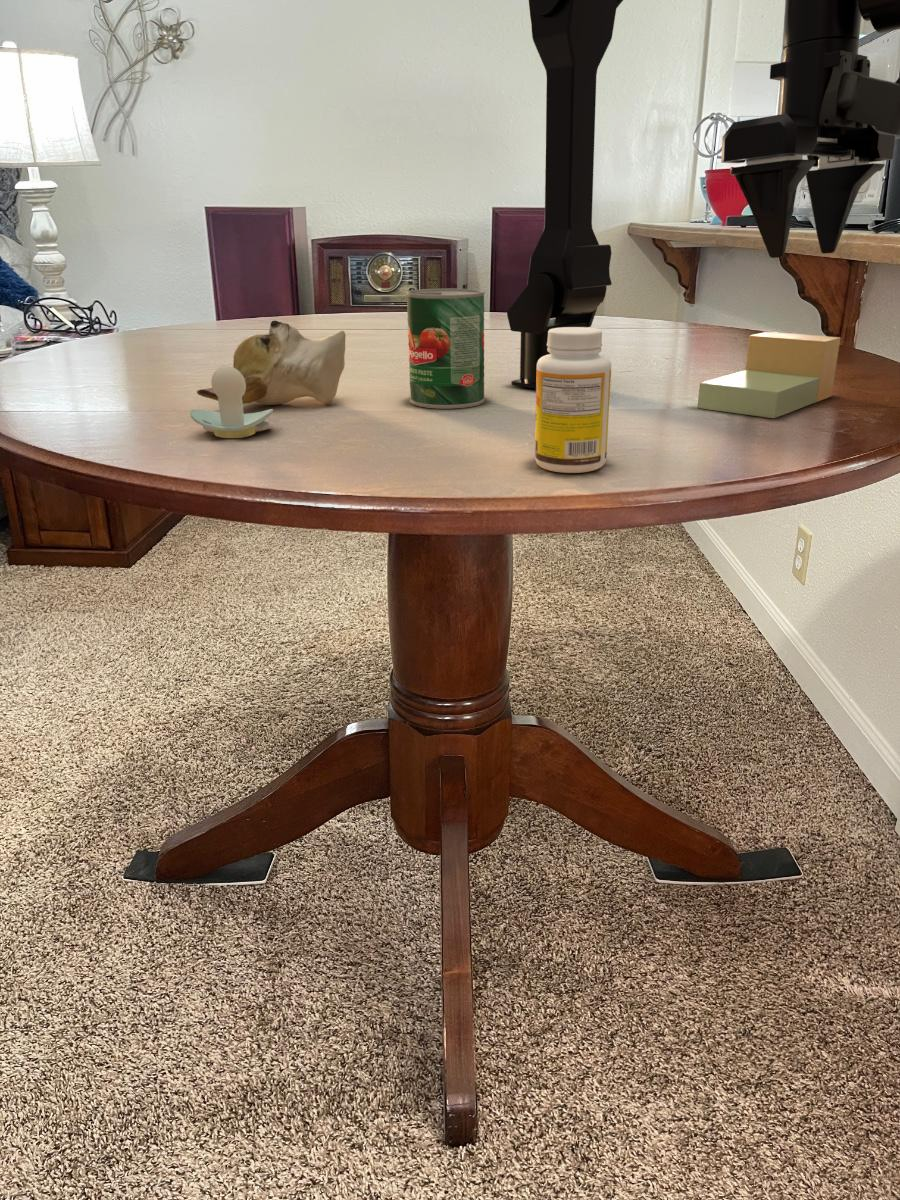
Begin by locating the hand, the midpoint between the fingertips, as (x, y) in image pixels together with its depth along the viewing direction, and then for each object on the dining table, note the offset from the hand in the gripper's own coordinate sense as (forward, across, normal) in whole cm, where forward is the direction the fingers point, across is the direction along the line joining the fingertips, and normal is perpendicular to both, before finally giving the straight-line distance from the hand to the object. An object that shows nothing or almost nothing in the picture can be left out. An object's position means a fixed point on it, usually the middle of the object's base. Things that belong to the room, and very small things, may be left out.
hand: (803, 255), depth 76 cm
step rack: (+14, +9, +7) cm, 18 cm away
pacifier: (+12, -38, +34) cm, 52 cm away
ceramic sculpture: (+12, -27, +43) cm, 52 cm away
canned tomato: (+13, -14, +31) cm, 36 cm away
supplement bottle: (+14, -25, +5) cm, 30 cm away
